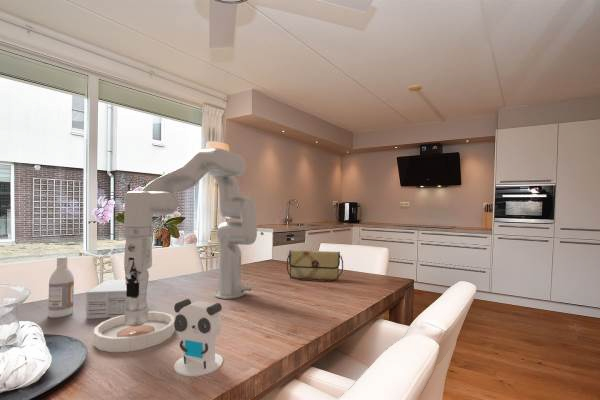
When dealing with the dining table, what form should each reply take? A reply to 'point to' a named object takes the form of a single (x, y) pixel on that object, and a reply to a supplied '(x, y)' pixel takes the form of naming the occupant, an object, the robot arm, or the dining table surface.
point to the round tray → (133, 333)
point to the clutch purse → (314, 265)
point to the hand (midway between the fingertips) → (137, 292)
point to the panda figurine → (197, 337)
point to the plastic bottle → (137, 303)
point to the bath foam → (61, 290)
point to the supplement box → (106, 300)
